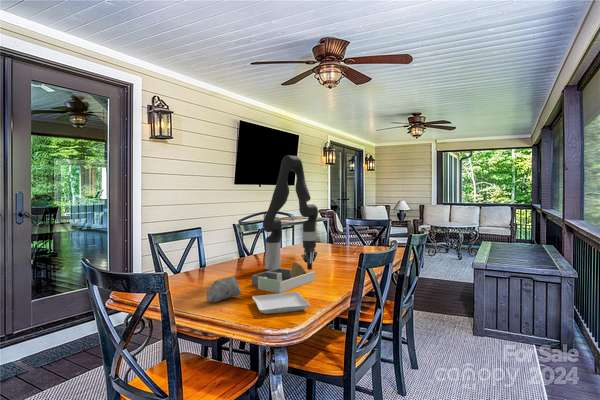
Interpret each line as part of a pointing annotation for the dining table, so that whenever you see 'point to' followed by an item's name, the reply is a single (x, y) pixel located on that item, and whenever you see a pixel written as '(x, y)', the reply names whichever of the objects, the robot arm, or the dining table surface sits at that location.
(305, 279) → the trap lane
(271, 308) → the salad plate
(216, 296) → the gray stone
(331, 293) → the dining table surface
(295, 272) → the rock
